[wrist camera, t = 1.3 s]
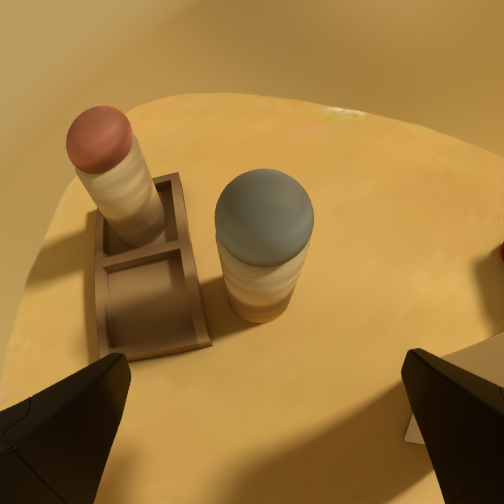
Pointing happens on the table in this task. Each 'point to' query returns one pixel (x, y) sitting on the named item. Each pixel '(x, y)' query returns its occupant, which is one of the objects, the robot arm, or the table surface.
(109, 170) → the red peg doll
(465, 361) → the milk carton
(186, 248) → the doll tray
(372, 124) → the table surface
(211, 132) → the table surface
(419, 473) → the table surface
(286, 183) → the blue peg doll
